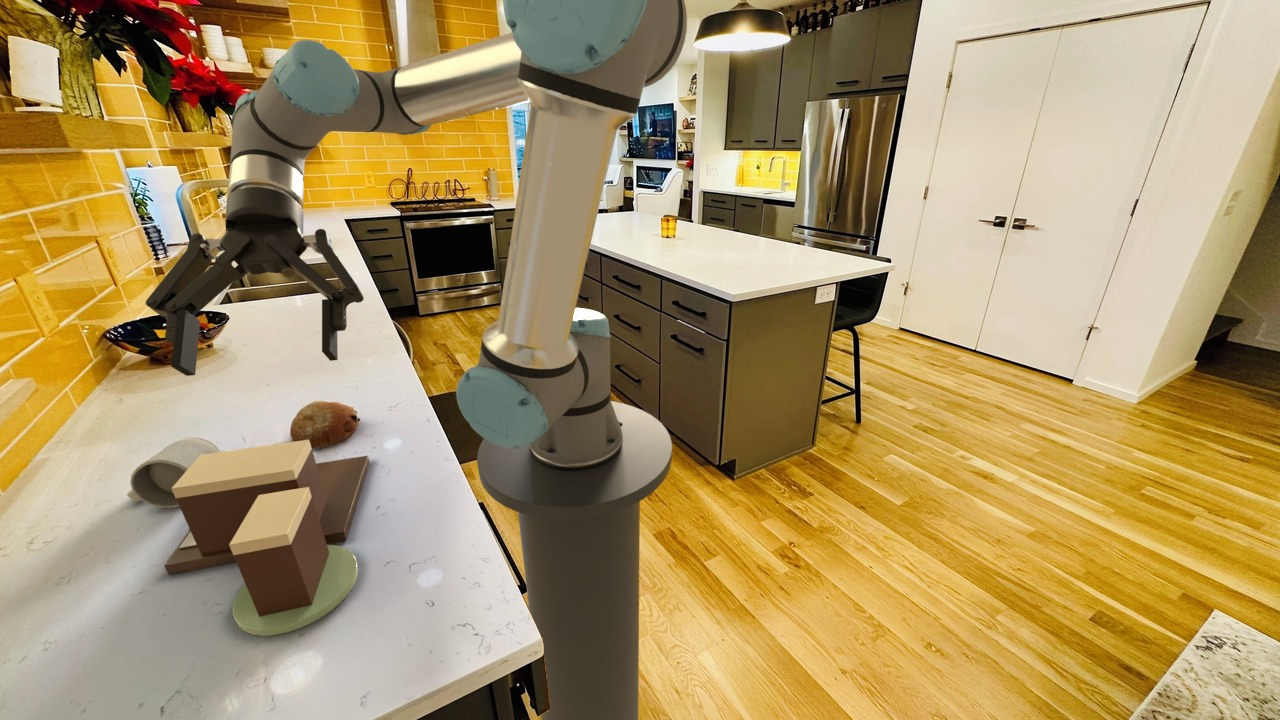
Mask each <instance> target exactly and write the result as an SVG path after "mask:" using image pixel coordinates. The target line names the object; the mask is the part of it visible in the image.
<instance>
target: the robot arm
mask: <svg viewBox="0 0 1280 720" xmlns="http://www.w3.org/2000/svg"><path fill="white" fill-rule="evenodd" d="M502 5H503V14H504V18H505V21H506V24H507V26H508V27H509V28H510V30H511V32H509V33H505V34H503V35H499V36H496V37H493V38H490V39H486V40H483V41H479V42H476V43H472V44H470V45H467V46H464V47H460V48H457V49H453V50H450V51H447V52H444V53H441V54H437V55H434V56H431V57H428V58H424V59H421V60H418V61H415V62H412V63H408V64H406V65H402V66H400V67H396V68H393V69H389V70H385V71H381V72H377V71H369V70H364V69H357V68H353V67H352V65H351V64H350V63H349V61H347V60H346V59H345V58H344V57H343V56H342V55H341V54H340V53H339V52H337V51H336V50H334V49H332V48H327V46H325V45H324V44H323V43H321V42H320V41H316V40H313V39H301V40H298V41H296V42H295V43H293V44H292V45H291V46H290V47H289V49H288V50H287V51H286V52H285V53H284V54H283V55H281V57H280V58H279V59H278V60H276V61H275V63H274V65H273V68H272V70H271V72H270V74H269V75H268V76H267V78H266V80H265V81H264V82H263V84H262V85H261V87H260V88H259V89H258V90H253V91H251V92H247V93H242V94H241V96H239V97H238V99H237V101H236V103H235V108H234V112H233V113H232V116H231V130H232V133H231V146H230V160H229V161H230V163H229V175H228V183H227V191H226V194H227V197H226V207H225V219H224V222H225V223H224V224H225V225H224V226H225V233H224V234H223V235H222V237H221V238H206V237H204V235H202V233H197V232H196V233H194V234H193V233H192V235H190V237H189V240H188V244H187V248H186V250H185V252H183V254H182V255H181V256H180V258H179V259H178V260H177V261H176V263H175V264H174V265H173V267H171V269H170V270H169V271H168V272H167V274H166V275H165V277H163V279H162V280H161V281H160V283H159V284H157V287H156V288H155V289H154V290H153V291H152V293H150V295H149V296H148V297H147V299H146V301H145V305H146V307H148V308H150V309H151V310H152V311H154V312H155V313H156V314H158V315H159V316H161V317H162V318H166V326H165V332H164V333H165V335H164V337H165V340H166V341H167V342H169V343H170V344H172V345H173V346H172V354H171V363H170V367H171V368H172V369H174V370H176V371H177V372H179V373H181V374H182V375H185V376H186V377H191V376H196V373H197V372H196V370H197V359H198V352H199V351H198V350H199V349H198V348H199V339H200V329H201V320H200V319H198V317H196V315H197V314H198V313H200V312H201V311H202V310H203V309H204V308H206V306H207V305H209V304H210V303H211V302H212V301H213V300H214V299H216V298H217V297H218V296H219V295H220V294H221V293H222V292H223V291H224V290H226V289H227V288H228V287H229V286H230V285H232V284H233V283H234V282H235V281H241V280H242V279H243V278H244V277H245V276H246V275H248V274H251V275H252V276H253V275H263V274H266V273H270V274H283V272H284V271H286V270H288V269H290V270H291V271H292V272H293V273H295V274H296V275H297V276H298V277H300V278H302V279H303V280H304V281H305V282H307V283H308V284H309V285H310V286H311V287H312V288H314V289H315V290H316V291H317V292H318V293H319V294H321V296H323V297H325V299H321V352H322V353H323V355H324V356H325V357H326V358H327V359H328V360H329V362H331V361H332V362H333V361H338V360H339V359H338V357H339V356H338V353H339V352H338V332H344V331H346V329H347V326H348V325H347V307H348V306H349V305H350V304H353V303H357V304H358V303H362V302H363V301H364V295H363V293H362V292H361V290H360V288H359V286H358V284H357V283H356V282H355V280H354V279H353V277H352V276H351V275H350V273H349V271H348V270H347V268H346V267H345V265H343V263H342V262H341V260H340V259H339V257H338V255H336V253H335V250H334V245H333V242H332V240H331V238H330V236H329V235H328V233H327V231H326V230H325V229H323V228H318V229H316V230H315V232H314V234H309V235H304V210H303V209H304V197H305V195H304V193H305V192H304V191H305V190H304V189H305V162H306V159H307V158H308V156H309V154H310V153H311V152H312V151H313V150H314V148H316V147H317V146H318V145H319V144H320V143H321V141H322V140H323V139H324V138H325V137H326V136H327V134H329V133H332V132H342V133H380V134H398V135H400V136H401V135H402V136H406V135H415V134H423V133H424V132H426V131H428V130H429V129H430V128H431V126H432V125H436V124H439V123H440V124H441V123H444V122H448V121H452V120H453V121H454V120H456V119H460V118H466V117H469V116H474V115H478V114H481V113H487V112H490V111H495V110H499V109H504V108H507V107H508V108H509V107H512V106H516V105H520V104H524V103H529V105H530V108H529V116H528V123H527V129H526V130H527V131H526V135H525V141H524V149H523V155H522V161H521V168H520V174H519V175H520V176H519V180H518V188H517V195H516V201H515V209H514V215H513V221H512V227H511V228H512V229H511V235H510V241H509V248H508V255H507V261H506V267H505V276H504V282H503V287H502V294H501V301H500V307H499V314H498V319H497V320H495V321H493V322H491V323H490V324H488V325H487V326H486V327H485V328H484V330H483V332H482V337H481V345H480V352H479V358H478V362H477V364H476V366H472V367H470V368H469V369H467V370H465V373H464V374H463V375H462V376H461V377H460V379H459V380H458V382H457V386H456V390H455V391H456V401H457V405H458V408H459V410H460V413H461V414H462V416H463V418H464V419H465V420H466V421H467V422H468V424H469V426H470V427H471V428H472V429H473V431H474V432H475V433H477V434H478V435H479V436H480V437H481V438H482V439H486V440H487V441H489V442H491V443H493V444H495V445H497V446H500V447H504V448H509V449H518V448H522V447H526V446H528V445H530V452H531V455H532V456H533V458H534V459H535V460H536V461H537V462H539V463H540V464H542V465H544V466H547V467H549V468H553V469H557V470H565V471H578V470H586V469H591V468H594V467H598V466H600V465H603V464H605V463H607V462H609V461H610V460H612V459H613V458H614V457H615V456H616V455H617V454H618V453H619V452H620V450H621V448H622V430H621V427H622V423H620V422H619V421H618V419H617V416H616V413H615V411H614V408H613V406H612V403H611V401H612V396H611V395H612V394H611V393H612V392H611V391H612V390H611V338H612V336H611V334H610V324H609V318H607V316H606V315H605V314H603V313H601V312H599V311H596V310H593V309H588V308H580V307H577V306H578V305H577V304H578V301H579V296H580V292H581V291H580V290H581V286H582V282H583V278H584V274H585V270H586V266H587V261H588V257H589V253H590V248H591V244H592V240H593V237H594V236H593V235H594V231H595V227H596V222H597V218H598V214H599V209H600V205H601V201H602V197H603V192H604V189H605V184H606V179H607V175H608V171H609V167H610V162H611V158H612V154H613V149H614V145H615V142H616V141H615V140H616V136H617V132H618V131H619V129H620V128H621V127H623V126H625V125H626V124H627V123H630V121H632V120H633V119H635V118H636V117H637V114H638V112H639V108H640V103H641V99H642V95H643V91H644V89H645V88H647V87H650V86H653V85H654V84H656V83H657V82H659V81H661V80H662V79H663V78H664V77H665V76H667V74H668V73H670V71H671V70H672V69H673V67H674V66H676V64H677V62H678V60H679V58H680V56H681V54H682V51H683V48H684V46H685V43H686V37H687V33H688V14H687V13H688V12H687V6H686V2H685V0H502ZM307 248H311V249H312V250H313V252H314V253H317V254H319V255H322V257H323V258H324V260H325V263H327V265H328V266H329V268H330V269H331V270H332V272H333V273H334V275H335V276H336V278H337V279H338V281H339V282H340V283H341V285H342V286H343V289H340V288H339V287H335V286H334V285H333V284H332V283H330V281H328V280H327V279H326V278H325V277H324V276H322V275H321V274H320V273H319V272H318V271H317V270H315V269H314V268H313V267H311V265H309V264H308V263H307V262H306V261H304V260H303V258H301V256H302V255H303V254H304V253H305V252H306V251H307V250H308V249H307ZM220 252H221V253H220ZM219 253H220V254H219ZM218 254H219V255H218ZM212 260H214V263H213V265H211V263H212ZM233 262H234V263H236V266H234V265H233ZM210 265H211V266H210ZM209 266H210V267H209Z"/></svg>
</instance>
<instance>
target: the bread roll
mask: <svg viewBox="0 0 1280 720" xmlns="http://www.w3.org/2000/svg"><path fill="white" fill-rule="evenodd" d="M359 422H361V418H360V417H358V411H357V410H355V409H354V407H353V406H349V405H347V404H343V403H340V402H337V401H325V400H315V401H312V402H310V403H308V404H306V405H304V406H303V407H302V408H301V409H300V410H298V412H297V413H296V415H295V417H294V418H293V419H292V421H291V425H290V430H289V434H290V438H291V440H292V442H296V441H303V440H309V441H310V445H311V448H312V449H321V448H325V447H329V446H333V445H335V444H336V445H337V444H339V443H341V442H343V441H345V440H347V439H349V438H350V437H352V436H353V435H354V434H355V432H356V431H357V429H358V427H359Z"/></svg>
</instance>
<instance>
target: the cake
mask: <svg viewBox="0 0 1280 720" xmlns="http://www.w3.org/2000/svg"><path fill="white" fill-rule="evenodd" d="M315 458H316V457H315V455H314V451H313V448H311V445H310V441H309V440H303V441H296V442H293V441H289V442H283V443H275V444H268V445H261V446H254V447H247V448H240V449H232V450H226V451H220V452H218V453H211V454H203V455H200V456H199V457H198V458H197V459H196V460H195V462H194V463H193V464H192V465H191V466H190V467H189V469H188V470H187V471H186V472H185V473H184V474H183V476H182V477H181V478H180V479H179V480H178V481H177V483H176V484H175V485H174V486H173V487H172V488H171V489H172V491H173V493H174V496H175V498H176V500H177V502H178V504H179V507H178V508H179V509H180V511H181V513H182V515H183V517H184V520H185V522H186V524H187V526H188V529H189V530H190V531H191V533H192V535H193V538H194V540H195V542H196V544H197V547H198V549H199V551H200V553H201V555H202V556H203V555H208V554H213V553H219V552H224V551H229V550H231V548H230V546H229V544H230V542H231V541H232V539H233V537H234V536H235V534H236V532H237V531H238V529H239V527H240V526H241V524H242V522H243V521H244V519H245V517H246V515H247V514H248V512H249V510H250V509H251V507H252V505H253V504H254V502H255V500H256V499H257V497H258V495H263V494H269V493H275V492H281V491H287V490H293V489H299V488H305V487H309V490H310V493H311V496H312V499H313V503H314V506H315V509H316V512H317V515H318V518H319V520H320V518H321V515H322V513H323V510H324V508H325V505H326V502H327V498H326V495H325V491H324V488H323V485H322V481H321V478H320V475H319V471H318V468H317V465H316V463H317V462H316V461H317V460H316V459H315Z"/></svg>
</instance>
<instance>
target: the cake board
mask: <svg viewBox="0 0 1280 720" xmlns="http://www.w3.org/2000/svg"><path fill="white" fill-rule="evenodd" d="M370 464H371V461H370V458H369V455H362V456H355V457H350V458H349V457H347V458H342V459H336V460H330V461H329V460H328V461H323V462H316V465H317V468H318V471H319V475H320V478H321V481H322V485H323V488H324V491H325V495H326V498H327V502H326V505H325V508H324V510H323V513H322V515H321V518H320V520H319V522H320V525H321V528H322V531H323V534H324V537H325V541H326V544H327V545H332V544H335V543H341V542H346V541H348V537H349V534H350V530H351V528H352V524H353V520H354V517H355V513H356V511H357V507H358V504H359V501H360V497H361V495H362V491H363V488H364V484H365V482H366V478H367V474H368V471H369V467H370ZM190 532H191V531H190V529H189V530H188V531H187V533H186V534H185V536H184V537H183V539H182V540H181V541H180V543H179V544H178V546H177V547H176V548H175V550H174V551H173V552H172V554H171V555H170V557H169V558H168V560H167V561H166V562H165V564H164V568H165V571H166V573H167V574H168V575H169V576H172V575H177V574H181V573H186V572H191V571H197V570H203V569H207V568H212V567H217V566H222V565H223V566H224V565H228V564H232V563H237V562H236V560H235V557H234V555H233V553H232V551H231V550H229V551H224V552H219V553H213V554H208V555H203V556H202V555H201V553H200V551H199V549H198V547H191V548H186V549H179V547H180V546H181V544H182V543H183V541H184V540H185V539H186V537H187V536H188V534H189V533H190Z"/></svg>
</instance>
